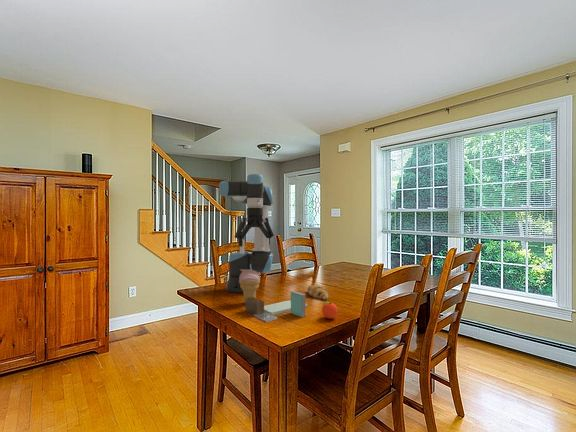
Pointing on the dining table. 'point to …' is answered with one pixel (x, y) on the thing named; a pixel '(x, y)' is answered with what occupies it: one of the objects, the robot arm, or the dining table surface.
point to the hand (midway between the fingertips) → (254, 252)
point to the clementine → (329, 310)
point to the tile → (298, 303)
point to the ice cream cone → (249, 282)
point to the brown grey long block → (258, 309)
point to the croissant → (318, 292)
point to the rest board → (279, 307)
